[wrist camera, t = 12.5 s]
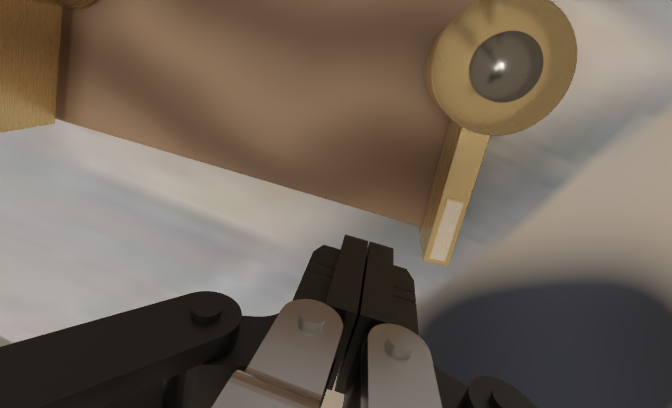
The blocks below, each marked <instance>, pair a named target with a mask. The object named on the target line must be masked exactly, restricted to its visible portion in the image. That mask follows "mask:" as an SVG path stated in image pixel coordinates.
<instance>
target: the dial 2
mask: <svg viewBox="0 0 672 408" xmlns="http://www.w3.org/2000/svg"><path fill="white" fill-rule="evenodd" d="M576 62H577V44H576V38H575V34H574V31H573V29H572V26H571V24H570V22H569V20H568V19H567V17H566V15H565V14H564V13H563V12H562V11H561V9H560V8H559V7H557V6H556V5H555V4H554V3H553V2H551V1H549V0H478V1H477V2H475V3H473V4H472V5H470V6H469V7H467V8H466V9H465V10H464V11H463V12H461V13H460V14H459V15H458V16H457V17H455V18H454V19H453V20H452V21H450V22H449V23H448V24H447V25H446V26H444V27H443V28H442V29H441V31H440V32H439V33H438V34H437V35H436V37H435V38H434V40H433V41H432V43H431V45H430V47H429V49H428V52H427V55H426V58H425V64H424V79H425V84H426V87H427V90H428V93H429V95H430V96H431V98H432V99H433V101H434V102H435V103H436V104H437V105H438V107H439V108H440V109H442V110H443V111H444V112H445V113H446V114H447V115H448V116H449V117H450V118H451V120H450V123H449V127H448V131H447V134H446V138H445V141H444V145H443V149H442V152H441V156H440V159H439V163H438V166H437V170H436V174H435V177H434V181H433V184H432V188H431V192H430V195H429V199H428V202H427V206H426V210H425V213H424V217H423V220H422V224H421V227H420V231H419V234H420V241H421V249H422V256H423V261H425V262H430V263H434V264H439V265H443V266H448V265H449V262H450V259H451V256H452V253H453V250H454V246H455V243H456V240H457V237H458V234H459V231H460V228H461V225H462V222H463V219H464V215H465V212H466V209H467V206H468V203H469V200H470V197H471V194H472V191H473V187H474V184H475V181H476V178H477V175H478V172H479V169H480V166H481V163H482V160H483V156H484V153H485V150H486V147H487V144H488V141H489V138H490V135H507V134H511V133H515V132H518V131H521V130H524V129H526V128H528V127H530V126H532V125H534V124H536V123H537V122H539V121H540V120H542V119H543V118H544V117H545V116H547V115H548V114H549V113H550V112H551V111H552V110H553V109H554V108H555V107H556V106H557V105H558V103H559V102H560V101H561V99H562V98H563V96H564V95H565V93H566V91H567V90H568V88H569V86H570V83H571V81H572V78H573V75H574V72H575V67H576Z"/></svg>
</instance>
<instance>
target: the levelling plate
mask: <svg viewBox="0 0 672 408" xmlns="http://www.w3.org/2000/svg"><path fill="white" fill-rule="evenodd" d="M477 1H478V0H96V1H95V2H94V3H92V4H91V5H89V6H87V7H84V8H79V9H71V8H65V7H62V19H61V34H60V49H59V64H58V79H57V94H56V109H55V119H59V120H62V121H66V122H69V123H72V124H76V125H79V126H82V127H86V128H89V129H92V130H96V131H99V132H103V133H106V134H109V135H113V136H116V137H119V138H123V139H126V140H130V141H133V142H136V143H140V144H143V145H146V146H150V147H153V148H157V149H160V150H163V151H167V152H170V153H173V154H177V155H180V156H184V157H187V158H190V159H194V160H197V161H200V162H204V163H207V164H211V165H214V166H217V167H221V168H224V169H227V170H231V171H234V172H237V173H241V174H244V175H248V176H251V177H254V178H258V179H261V180H264V181H268V182H271V183H275V184H278V185H281V186H285V187H288V188H291V189H295V190H298V191H302V192H305V193H308V194H312V195H315V196H318V197H322V198H325V199H329V200H332V201H335V202H339V203H342V204H345V205H349V206H352V207H356V208H359V209H362V210H366V211H369V212H372V213H376V214H379V215H382V216H386V217H389V218H393V219H396V220H399V221H403V222H406V223H409V224H413V225H416V226H420V227H421V224H422V220H423V217H424V213H425V210H426V206H427V202H428V199H429V195H430V192H431V188H432V184H433V181H434V177H435V174H436V170H437V166H438V163H439V159H440V156H441V152H442V149H443V145H444V141H445V138H446V134H447V131H448V127H449V123H450V120H451V118H450V117H449V116H448V115H447V114H446V113H445V112H444V111H443V110H442V109H440V108H439V107H438V105H437V104H436V103H435V102H434V101H433V99H432V98H431V96H430V95H429V93H428V90H427V87H426V84H425V79H424V64H425V58H426V55H427V52H428V49H429V47H430V45H431V43H432V41H433V40H434V38H435V37H436V35H437V34H438V33H439V32H440V31H441V29H442V28H443V27H444V26H446V25H447V24H448V23H449V22H450V21H452V20H453V19H454V18H455V17H457V16H458V15H459V14H460V13H461V12H463V11H464V10H465V9H466V8H467V7H469V6H470V5H472V4H473V3H475V2H477ZM490 136H491V135H490Z"/></svg>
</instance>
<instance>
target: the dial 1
mask: <svg viewBox="0 0 672 408" xmlns="http://www.w3.org/2000/svg"><path fill="white" fill-rule="evenodd" d="M95 1H96V0H0V133H1V132H7V131H13V130H19V129H25V128H31V127H37V126H43V125H49V124H55V109H56V94H57V79H58V64H59V49H60V34H61V19H62V7H65V8H71V9H79V8H84V7H87V6H89V5H91V4H92V3H94V2H95Z"/></svg>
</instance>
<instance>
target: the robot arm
mask: <svg viewBox="0 0 672 408" xmlns="http://www.w3.org/2000/svg"><path fill="white" fill-rule="evenodd" d="M367 245H368V247H367ZM414 293H415V287H414V280H413V278H412V277H411V275H410V274H409V272H408V271H407V269H404V268H401V267H398V266H394V265H393V248H390V247H387V246H383V245H380V244H376V243H373V242H369V244H368V241H366V240H362V239H359V238H355V237H352V236H349V235H345V237H344V240H343V244H342V247H341V250H339V249H336V248H333V247H329V246H326V245H323V246H321V247H320V248H318V249H316V250H315V251H314V252H313V254H312V256H311V259H310V261H309V263H308V266H307V268H306V271H305V273H304V275H303V277H302V280H301V282H300V284H299V287H298V289H297V291H296V294H295V296H294V298H293V301H291V302H289V303H287V304H286V305H285V306H284V307H283V308H282V310H281V311H280V313H279V314H276V315H272V316H266V317H253V316H242V313H241V309H240V307H239V305H238V304H237V303H236V302H235V301H234V300H233V299H232V298H230V297H228V296H226V295H224V294H221V293H217V292H210V291H202V292H195V293H190V294H187V295H183V296H180V297H176V298H173V299H169V300H166V301H162V302H158V303H155V304H151V305H148V306H144V307H141V308H137V309H134V310H130V311H126V312H123V313H119V314H116V315H112V316H109V317H105V318H102V319H98V320H94V321H91V322H87V323H84V324H80V325H77V326H73V327H70V328H66V329H63V330H59V331H55V332H52V333H48V334H45V335H41V336H38V337H34V338H31V339H27V340H23V341H20V342H16V343H13V344H9V345H6V346H2V347H0V408H320V407H321V405H322V402H323V399H324V396H325V393H326V390H327V389H330V390H332V388H333V385H334V382H335V379H336V376H337V380H336V387H335V391H337V392H340V393H343V394H345V395H344V402H343V407H342V408H537V407H536V406H535V405H534V404H533V403H532V402H531V401H530V400H529V399H528V398H526V396H525V395H523V394H522V393H521V392H520V391H519V390H518V389H516V388H515V387H513V386H512V385H510V384H508V383H507V382H505V381H503V380H500V379H498V378H494V377H490V376H480V377H476V378H474V379H473V380H472V381H471V383H470V384H469V386H467V385H465V384H463V383H462V382H460V381H458V380H456V379H454V378H453V377H451V376H449V375H447V374H446V373H444V372H442V371H441V370H440V369H439V368H437V367H436V366H435V365H434V364H433V363H432V358H431V353H430V350H429V348H428V346H427V345H426V343H425V342H424V341H423V340H422V339H421V338H420V337H419V333H418V322H417V310H416V304H415V302H416V299H415V294H414ZM337 373H338V375H337Z"/></svg>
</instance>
